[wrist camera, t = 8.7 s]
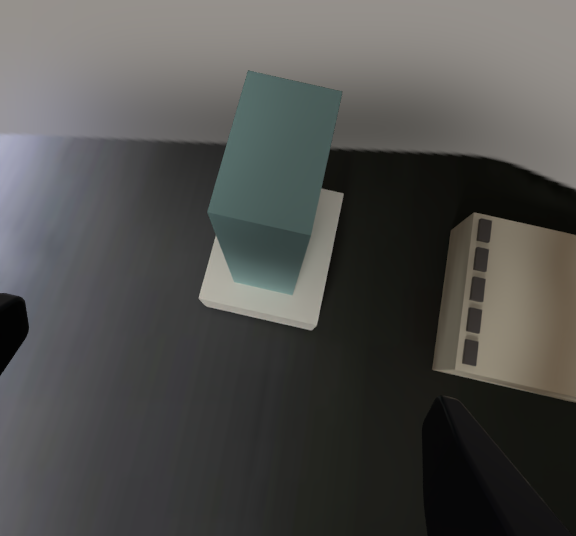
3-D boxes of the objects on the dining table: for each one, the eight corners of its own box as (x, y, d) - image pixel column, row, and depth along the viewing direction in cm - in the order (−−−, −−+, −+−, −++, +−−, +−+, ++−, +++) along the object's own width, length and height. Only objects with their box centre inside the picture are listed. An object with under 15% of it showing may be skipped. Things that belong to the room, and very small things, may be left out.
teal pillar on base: (336, 211, 21) (396, 69, 11) (311, 330, 20) (355, 288, 10) (237, 189, 21) (211, 28, 11) (206, 306, 20) (143, 240, 10)
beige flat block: (646, 274, 21) (698, 260, 19) (643, 417, 20) (701, 425, 17) (450, 230, 21) (476, 210, 19) (432, 369, 20) (457, 369, 17)
